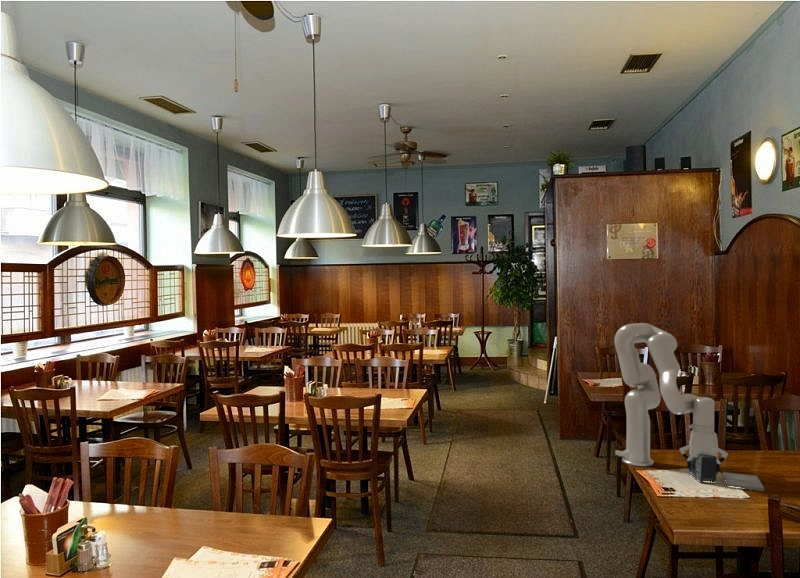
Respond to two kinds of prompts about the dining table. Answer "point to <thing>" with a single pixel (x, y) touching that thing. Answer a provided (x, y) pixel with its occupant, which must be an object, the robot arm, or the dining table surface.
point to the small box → (704, 468)
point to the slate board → (743, 481)
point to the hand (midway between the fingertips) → (703, 471)
